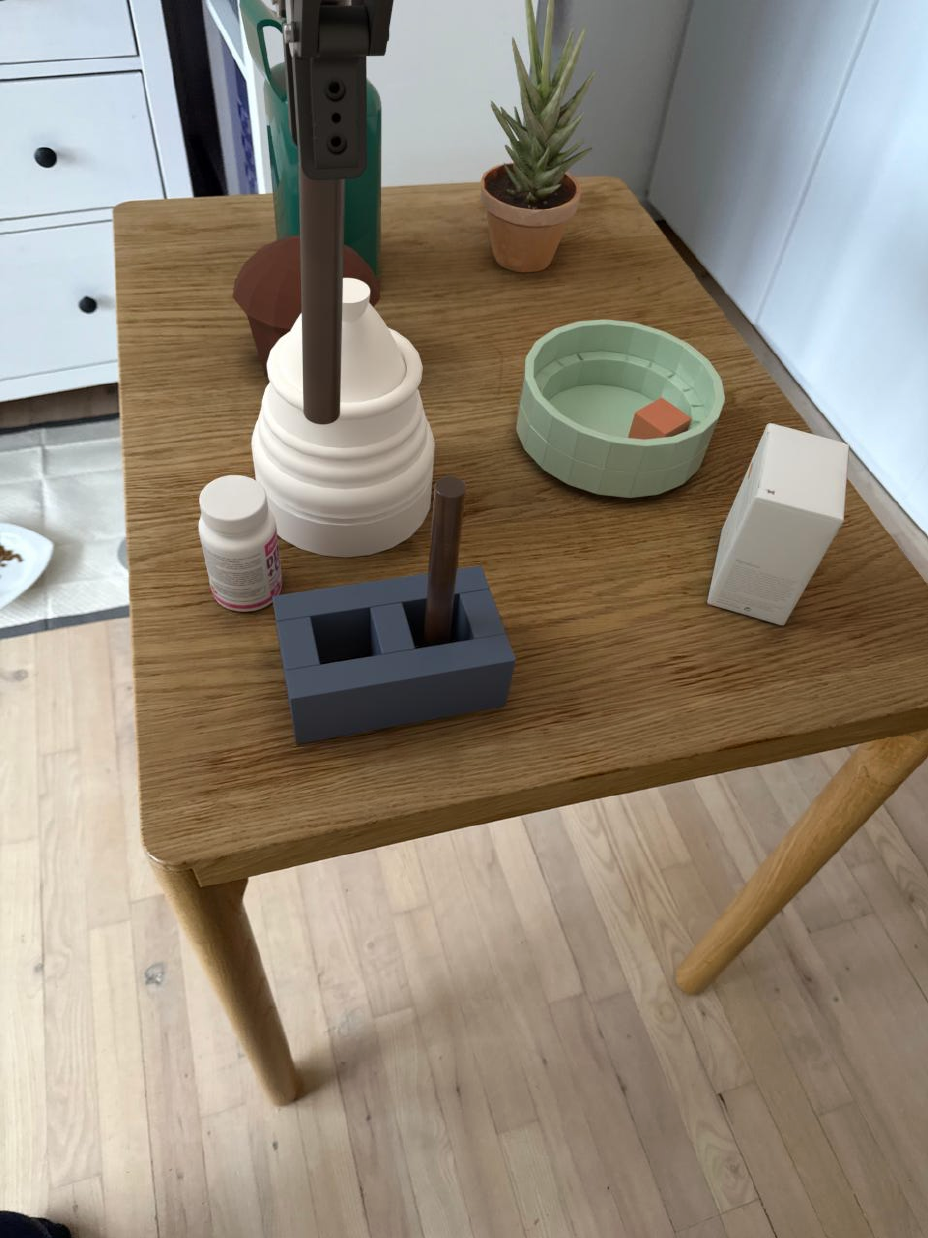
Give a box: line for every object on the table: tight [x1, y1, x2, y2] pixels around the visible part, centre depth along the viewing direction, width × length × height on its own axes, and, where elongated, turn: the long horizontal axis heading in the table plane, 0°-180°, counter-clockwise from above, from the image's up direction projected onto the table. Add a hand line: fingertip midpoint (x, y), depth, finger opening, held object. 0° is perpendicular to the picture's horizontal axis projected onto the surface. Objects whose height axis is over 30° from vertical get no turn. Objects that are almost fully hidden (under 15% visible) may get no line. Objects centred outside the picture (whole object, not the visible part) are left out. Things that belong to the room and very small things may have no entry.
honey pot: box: [250, 278, 436, 559], centre depth 60 cm, size 13×13×18 cm
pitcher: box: [238, 0, 383, 280], centre depth 76 cm, size 10×8×22 cm
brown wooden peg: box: [422, 475, 467, 648], centre depth 51 cm, size 2×2×16 cm
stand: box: [272, 565, 517, 745], centre depth 55 cm, size 8×13×5 cm, turn 105°
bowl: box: [515, 318, 726, 499], centre depth 71 cm, size 15×15×6 cm
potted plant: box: [480, 0, 597, 274], centre depth 80 cm, size 10×10×25 cm
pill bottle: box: [198, 474, 283, 613], centre depth 57 cm, size 5×5×8 cm
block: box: [628, 397, 692, 440], centre depth 70 cm, size 3×3×3 cm
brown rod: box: [299, 0, 349, 425], centre depth 33 cm, size 2×2×16 cm
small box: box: [706, 422, 851, 626], centre depth 61 cm, size 8×6×10 cm
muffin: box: [232, 235, 381, 377], centre depth 73 cm, size 12×11×10 cm
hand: (327, 156), depth 31 cm, fingers closed on brown rod, 1 cm apart
